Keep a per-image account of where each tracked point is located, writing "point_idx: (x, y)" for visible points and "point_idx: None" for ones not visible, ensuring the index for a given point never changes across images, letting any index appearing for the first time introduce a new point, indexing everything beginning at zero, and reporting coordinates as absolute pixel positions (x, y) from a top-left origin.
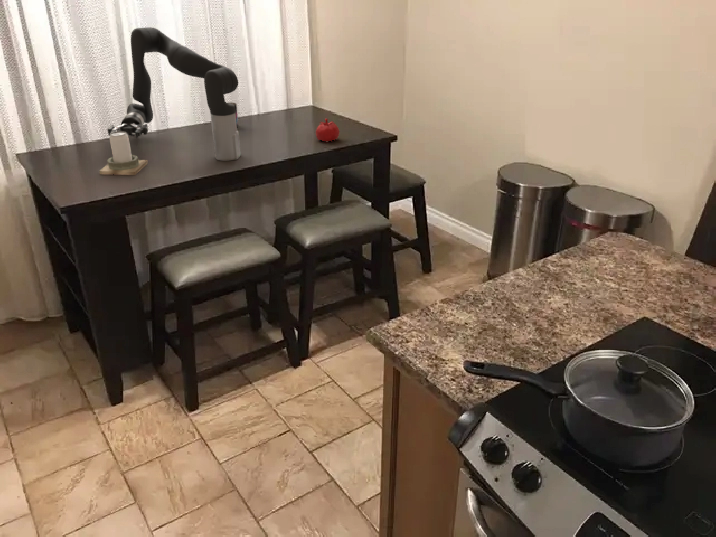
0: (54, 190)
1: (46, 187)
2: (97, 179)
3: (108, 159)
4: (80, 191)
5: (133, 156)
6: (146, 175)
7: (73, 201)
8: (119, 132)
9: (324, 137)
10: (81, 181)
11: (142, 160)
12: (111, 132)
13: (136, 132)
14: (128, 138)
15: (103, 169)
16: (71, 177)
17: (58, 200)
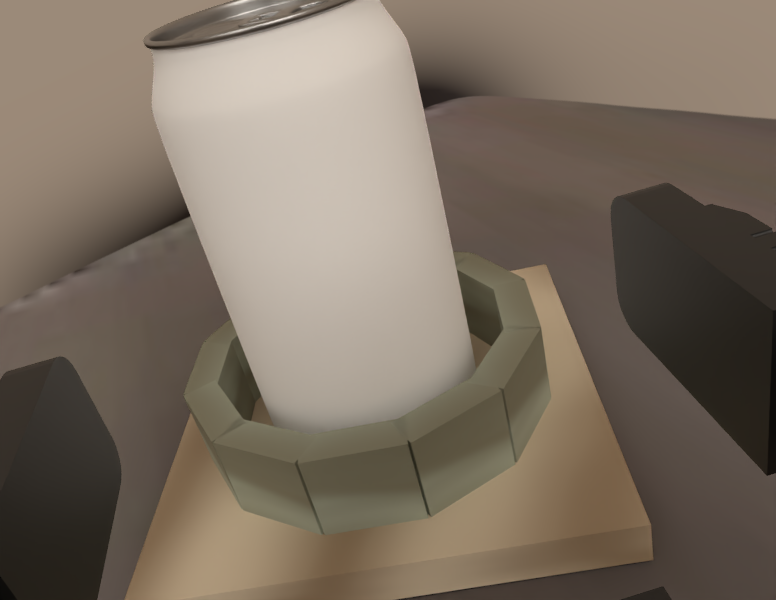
0: (649, 119)
1: (742, 117)
2: (499, 240)
3: (519, 289)
4: (488, 151)
5: (251, 422)
6: (137, 368)
7: (449, 114)
8: (270, 35)
9: None
10: (593, 199)
11: (188, 579)
12: (772, 243)
13: (29, 368)
14: (158, 130)
15: (532, 290)
16: (742, 208)
17: (526, 99)
